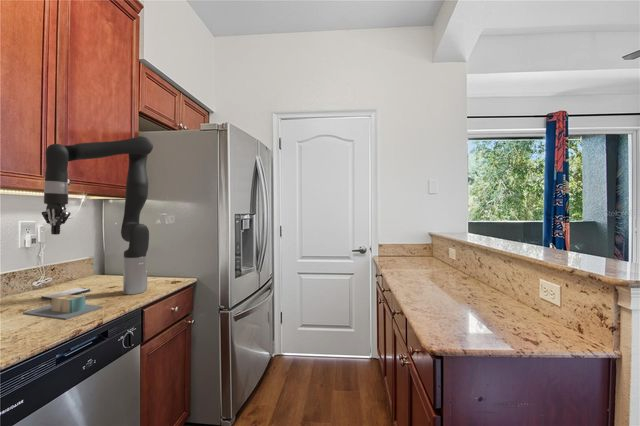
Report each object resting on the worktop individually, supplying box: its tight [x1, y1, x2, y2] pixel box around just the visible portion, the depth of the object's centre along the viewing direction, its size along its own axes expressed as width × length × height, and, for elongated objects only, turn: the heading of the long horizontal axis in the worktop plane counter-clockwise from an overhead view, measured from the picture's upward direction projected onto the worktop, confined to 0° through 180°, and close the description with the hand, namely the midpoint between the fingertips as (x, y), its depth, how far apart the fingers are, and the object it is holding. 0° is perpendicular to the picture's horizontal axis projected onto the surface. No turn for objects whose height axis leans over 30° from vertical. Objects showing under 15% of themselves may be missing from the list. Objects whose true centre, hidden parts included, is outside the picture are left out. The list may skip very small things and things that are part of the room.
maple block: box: [51, 294, 86, 313], centre depth 115 cm, size 5×5×10 cm
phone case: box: [40, 287, 91, 301], centre depth 136 cm, size 9×2×16 cm
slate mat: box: [22, 303, 104, 320], centre depth 115 cm, size 14×21×1 cm, turn 77°
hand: (55, 234), depth 123 cm, fingers closed
